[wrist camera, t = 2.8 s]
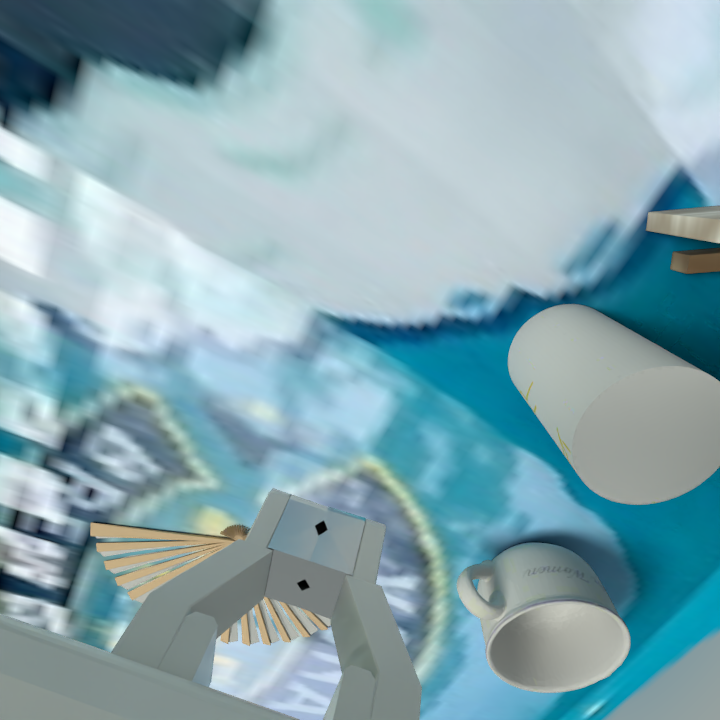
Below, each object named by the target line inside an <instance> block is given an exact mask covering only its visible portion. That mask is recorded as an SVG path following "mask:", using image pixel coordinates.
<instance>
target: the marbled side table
mask: <svg viewBox="0 0 720 720" xmlns="http://www.w3.org/2000/svg"><path fill="white" fill-rule="evenodd" d="M646 231H651V232H657V233H663V234H669V235H674V236H680V237H686V238H692V239H697V240H703V241H709V242H714V243H720V206H710V207H699V208H688V209H677V210H667V211H656V212H648V220H647V228H646ZM670 269H672V270H675V271H678V272H682V273H685V274H692V273H704V272H715V271H720V248H710V249H699V250H687V251H676V252H673V254H672V261H671V268H670Z"/></svg>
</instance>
